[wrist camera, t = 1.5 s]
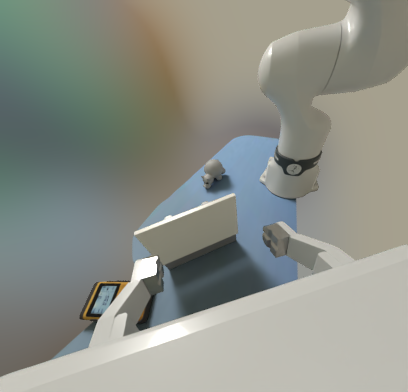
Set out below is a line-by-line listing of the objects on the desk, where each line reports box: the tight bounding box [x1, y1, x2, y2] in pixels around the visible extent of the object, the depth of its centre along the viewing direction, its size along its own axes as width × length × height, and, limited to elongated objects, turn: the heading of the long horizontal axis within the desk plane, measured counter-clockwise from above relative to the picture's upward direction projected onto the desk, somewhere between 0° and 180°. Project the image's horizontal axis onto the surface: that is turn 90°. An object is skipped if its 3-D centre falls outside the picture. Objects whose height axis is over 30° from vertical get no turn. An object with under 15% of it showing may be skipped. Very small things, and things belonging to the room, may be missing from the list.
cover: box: [134, 193, 238, 265], centre depth 33 cm, size 20×13×1 cm
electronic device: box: [80, 281, 153, 324], centre depth 37 cm, size 8×16×3 cm, turn 88°
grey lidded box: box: [155, 199, 236, 270], centre depth 44 cm, size 20×13×6 cm, turn 110°
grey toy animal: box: [201, 159, 225, 189], centre depth 60 cm, size 7×12×8 cm, turn 144°
